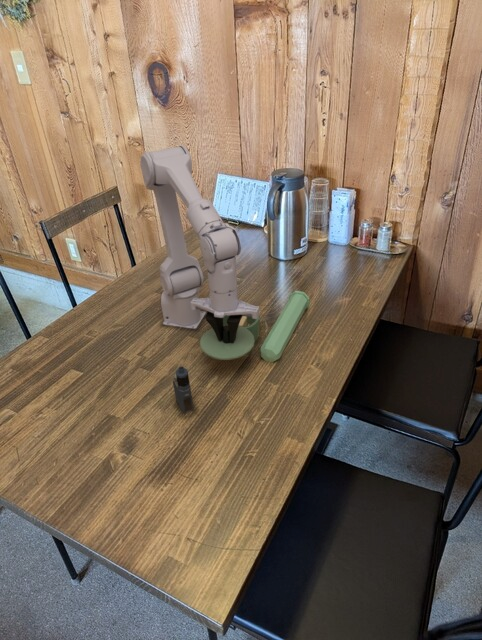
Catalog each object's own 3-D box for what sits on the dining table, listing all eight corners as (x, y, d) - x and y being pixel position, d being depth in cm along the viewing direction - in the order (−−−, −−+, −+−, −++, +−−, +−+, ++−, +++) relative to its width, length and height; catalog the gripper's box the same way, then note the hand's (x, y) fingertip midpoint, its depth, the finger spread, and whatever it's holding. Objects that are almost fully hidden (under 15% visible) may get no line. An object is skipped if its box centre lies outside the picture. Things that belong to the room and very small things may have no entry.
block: (227, 336, 112) (226, 323, 110) (232, 327, 115) (231, 314, 113) (243, 338, 111) (242, 325, 109) (247, 329, 114) (246, 316, 112)
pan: (209, 344, 110) (207, 326, 107) (223, 319, 119) (222, 301, 116) (252, 351, 107) (252, 332, 104) (264, 324, 116) (264, 307, 113)
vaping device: (184, 418, 91) (177, 374, 84) (175, 402, 95) (167, 358, 88) (196, 413, 92) (189, 369, 85) (186, 397, 95) (179, 354, 89)
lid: (192, 357, 96) (190, 340, 93) (211, 325, 105) (209, 309, 103) (245, 366, 93) (245, 349, 90) (260, 332, 102) (260, 316, 100)
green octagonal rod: (274, 345, 99) (306, 288, 117) (251, 348, 102) (286, 292, 121) (283, 366, 101) (313, 307, 120) (261, 368, 105) (293, 310, 123)
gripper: (182, 292, 89) (189, 345, 97) (252, 301, 85) (253, 355, 93) (195, 275, 95) (201, 326, 102) (261, 282, 91) (262, 335, 99)
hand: (227, 339), depth 98 cm, fingers closed on lid, 2 cm apart
